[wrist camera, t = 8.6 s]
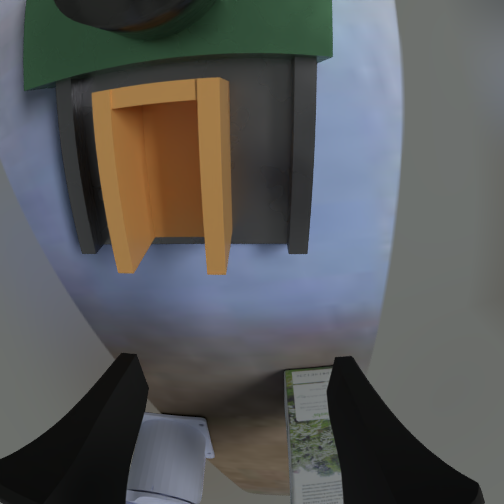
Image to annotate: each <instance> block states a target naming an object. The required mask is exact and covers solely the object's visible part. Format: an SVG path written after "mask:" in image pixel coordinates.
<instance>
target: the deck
mask: <svg viewBox="0 0 504 504" xmlns="http://www.w3.org/2000/svg"><path fill="white" fill-rule="evenodd" d="M331 57H333V32H332V0H27V1H26V11H25V25H24V51H23V68H24V91H28V90H36V89H45V88H54V87H56V98H57V112H58V123H59V133H60V141H61V149H62V156H63V163H64V170H65V176H66V182H67V187H68V193H69V198H70V203H71V208H72V213H73V218H74V222H75V227H76V231H77V235H78V239H79V243H80V247H81V251H82V254H96V253H97V252H98V251H99V250H100V248H101V247H102V246H103V245H104V244H112V243H111V238H110V233H109V228H108V223H107V218H106V212H105V207H104V201H103V195H102V188H101V182H100V175H99V168H98V160H97V152H96V143H95V133H94V122H93V109H92V93H94V92H99V91H104V90H109V89H116V88H121V87H128V86H134V85H141V84H149V83H157V82H165V81H175V80H187V79H198V78H216V77H220V78H222V79H225V80H227V81H229V95H230V156H231V197H232V237H231V244H287V247H288V253H289V254H307V252H308V241H309V228H310V215H311V201H312V185H313V168H314V147H315V122H316V81H317V62H318V63H319V62H322V61H324V60H327V59H329V58H331ZM151 244H205V237H155V238H154V240H153V242H152V243H151Z"/></svg>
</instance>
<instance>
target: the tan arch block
mask: <svg viewBox="0 0 504 504" xmlns="http://www.w3.org/2000/svg"><path fill="white" fill-rule="evenodd" d="M92 109H93V122H94V133H95V143H96V152H97V160H98V168H99V175H100V182H101V188H102V195H103V201H104V207H105V212H106V218H107V223H108V228H109V233H110V238H111V243H112V248H113V252H114V257H115V261H116V266H117V270H118V273H134V272H135V271H136V269H137V267H138V265H139V264H140V262H141V260H142V259H143V257H144V255H145V253H146V252H147V250H148V248H149V247H150V245H151V243H152V242H153V240H154V238H155V237H205V250H206V263H207V274H208V275H226V271H227V264H228V257H229V251H230V244H231V237H232V197H231V156H230V95H229V81H227V80H225V79H222V78H220V77H216V78H198V79H187V80H175V81H165V82H157V83H149V84H141V85H134V86H128V87H121V88H116V89H109V90H104V91H99V92H94V93H92Z"/></svg>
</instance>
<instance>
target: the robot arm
mask: <svg viewBox="0 0 504 504" xmlns="http://www.w3.org/2000/svg"><path fill="white" fill-rule="evenodd" d="M148 389H149V387H148V385H147V382H146V379H145V377H144V374H143V371H142V368H141V366H140V363H139V360H138V357H137V354H129V353H121V354H120V355H119V356H118V358H117V359H116V360H115V361H114V362H113V363H112V365H111V366H110V367H109V368H108V369H107V371H106V372H105V373H104V374H103V375H102V377H101V378H100V379H99V380H98V381H97V382H96V383H95V385H94V386H93V387H92V388H91V389H90V390H89V392H88V393H87V394H86V395H85V396H84V397H83V398H82V399H81V400H80V401H79V402H78V403H77V404H76V405H75V406H74V407H73V408H72V409H71V410H70V411H69V412H68V413H67V414H66V415H65V416H64V417H63V418H62V419H61V420H60V421H59V422H57V423H56V424H55V425H54V426H53V427H51V428H50V429H49V430H47V431H46V432H45V433H44V434H42V435H41V436H40V437H38V438H37V439H36V440H34V441H32V442H31V443H29V444H28V445H26V446H24V447H23V448H21V449H20V450H18V451H16V452H14V453H13V454H11V455H9V456H7V457H4V458H2V459H0V502H1V503H3V504H200V501H201V498H202V491H203V490H202V489H203V480H204V470H205V460H206V458H214V451H213V447H212V443H211V439H210V434H209V430H208V426H207V422H206V419H204V418H201V417H188V416H177V415H166V414H157V413H149V412H145V408H146V402H147V396H148ZM326 392H327V402H328V412H329V418H330V423H331V427H332V432H333V436H334V440H335V445H336V449H337V454H338V458H339V463H340V469H341V477H342V489H343V504H484V503H485V501H484V498H483V494H482V491H481V488H480V486H479V484H478V483H477V482H475V481H474V480H472V479H470V478H468V477H467V476H465V475H463V474H461V473H460V472H458V471H456V470H455V469H453V468H452V467H451V466H449V465H447V464H446V463H445V462H444V461H442V460H441V459H440V458H439V457H437V456H436V455H434V454H433V453H432V452H431V451H430V450H428V449H427V448H426V447H425V446H424V445H423V444H422V443H420V441H418V440H417V439H416V438H415V437H414V436H413V435H412V434H411V433H410V432H409V431H408V430H407V429H406V428H405V427H404V425H403V424H402V423H401V422H400V421H399V420H398V419H397V418H396V416H395V415H394V414H393V413H392V412H391V411H390V409H389V408H388V407H387V405H386V404H385V403H384V402H383V400H382V399H381V398H380V396H379V395H378V394H377V392H376V391H375V390H374V388H373V387H372V385H371V384H370V383H369V381H368V380H367V378H366V377H365V375H364V374H363V372H362V371H361V369H360V368H359V366H358V364H357V363H356V361H355V360H354V358H353V357H352V356H347V357H335V360H334V364H333V368H332V372H331V376H330V380H329V383H328V387H327V391H326ZM138 434H139V435H138ZM137 437H138V439H137ZM136 441H137V443H136ZM135 444H136V447H135ZM134 448H135V451H134ZM133 451H134V455H133ZM132 455H133V459H132ZM131 459H132V463H131ZM130 463H131V468H130ZM129 469H130V472H129Z"/></svg>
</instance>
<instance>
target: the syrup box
mask: <svg viewBox="0 0 504 504" xmlns="http://www.w3.org/2000/svg"><path fill="white" fill-rule="evenodd" d="M332 368H333V366H329V367H319V368H308V369H295V370H286V371H285V372H284V407H285V419H286V429H287V442H288V456H289V477H290V498H291V499H290V502H291V504H343V489H342V477H341V469H340V463H339V458H338V454H337V449H336V445H335V440H334V436H333V432H332V427H331V423H330V418H329V412H328V402H327V392H326V391H327V387H328V383H329V380H330V376H331V372H332Z"/></svg>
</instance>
